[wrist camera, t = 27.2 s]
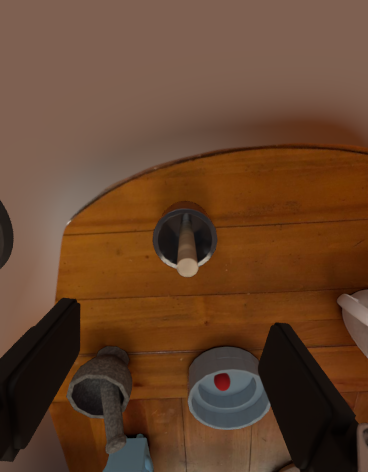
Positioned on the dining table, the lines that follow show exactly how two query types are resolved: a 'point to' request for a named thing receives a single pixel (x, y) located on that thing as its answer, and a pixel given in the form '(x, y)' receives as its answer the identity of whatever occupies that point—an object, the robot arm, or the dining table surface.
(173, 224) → the holder
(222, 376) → the berry
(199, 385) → the mixing bowl
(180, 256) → the stick
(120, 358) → the mortar and pestle
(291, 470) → the planter
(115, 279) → the dining table surface
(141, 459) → the teapot
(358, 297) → the mug
